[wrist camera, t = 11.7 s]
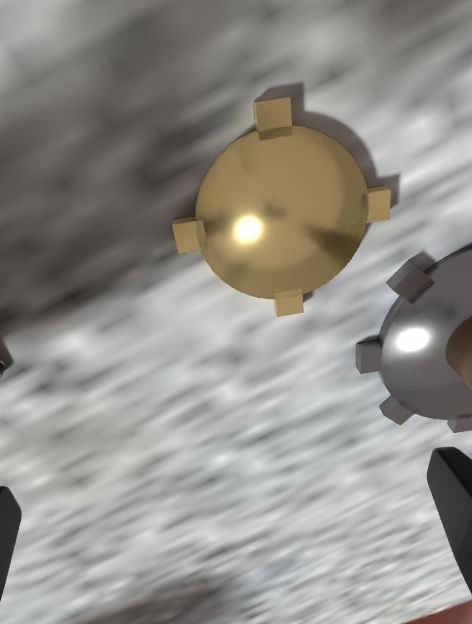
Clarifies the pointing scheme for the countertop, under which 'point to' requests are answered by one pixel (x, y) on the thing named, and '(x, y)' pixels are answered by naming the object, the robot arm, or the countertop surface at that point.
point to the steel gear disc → (423, 343)
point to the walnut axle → (461, 351)
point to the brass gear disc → (281, 210)
